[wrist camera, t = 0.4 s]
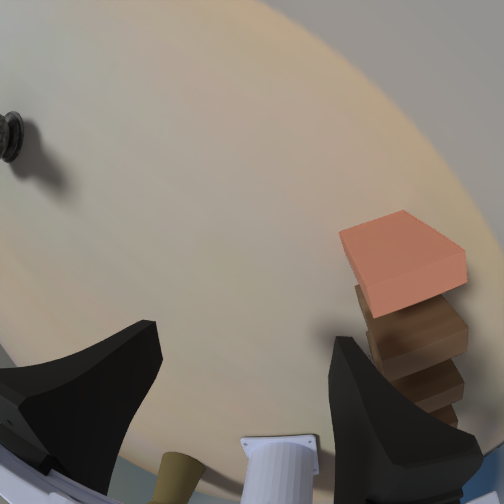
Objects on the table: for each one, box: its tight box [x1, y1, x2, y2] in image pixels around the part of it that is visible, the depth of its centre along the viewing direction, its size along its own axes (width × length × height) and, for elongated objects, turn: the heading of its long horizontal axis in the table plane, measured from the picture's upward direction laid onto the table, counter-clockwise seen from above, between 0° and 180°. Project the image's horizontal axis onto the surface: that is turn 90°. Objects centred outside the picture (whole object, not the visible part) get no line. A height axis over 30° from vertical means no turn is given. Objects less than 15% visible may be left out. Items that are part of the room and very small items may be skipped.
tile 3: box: [366, 331, 464, 413], centre depth 17 cm, size 2×5×8 cm, turn 112°
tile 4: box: [355, 285, 468, 382], centre depth 16 cm, size 2×5×8 cm, turn 112°
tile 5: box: [339, 210, 467, 318], centre depth 15 cm, size 2×5×8 cm, turn 112°
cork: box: [147, 452, 205, 504], centre depth 27 cm, size 6×6×11 cm
